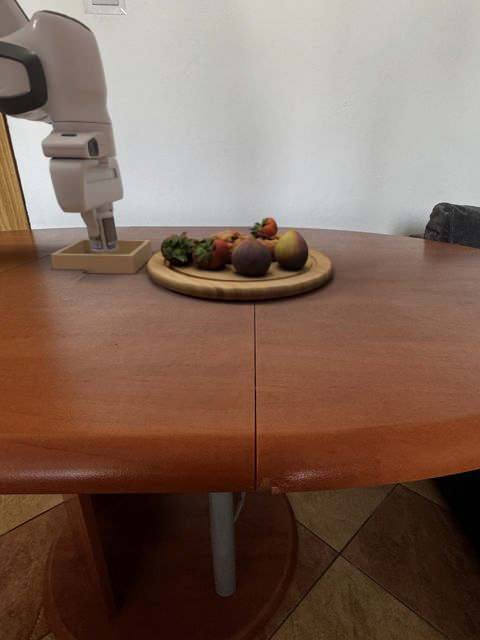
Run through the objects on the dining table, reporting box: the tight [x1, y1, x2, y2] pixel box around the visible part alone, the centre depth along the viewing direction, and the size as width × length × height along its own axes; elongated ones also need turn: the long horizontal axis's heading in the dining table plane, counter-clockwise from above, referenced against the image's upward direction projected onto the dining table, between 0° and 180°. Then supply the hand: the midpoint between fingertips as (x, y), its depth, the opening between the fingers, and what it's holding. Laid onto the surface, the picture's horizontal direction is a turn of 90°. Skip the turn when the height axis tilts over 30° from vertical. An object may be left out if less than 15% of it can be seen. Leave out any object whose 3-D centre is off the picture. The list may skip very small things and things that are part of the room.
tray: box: [50, 238, 154, 275], centre depth 69 cm, size 14×13×3 cm
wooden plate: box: [146, 217, 334, 301], centre depth 65 cm, size 32×32×8 cm
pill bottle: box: [86, 201, 119, 252], centre depth 67 cm, size 5×5×8 cm
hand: (101, 232), depth 67 cm, fingers closed on pill bottle, 5 cm apart
